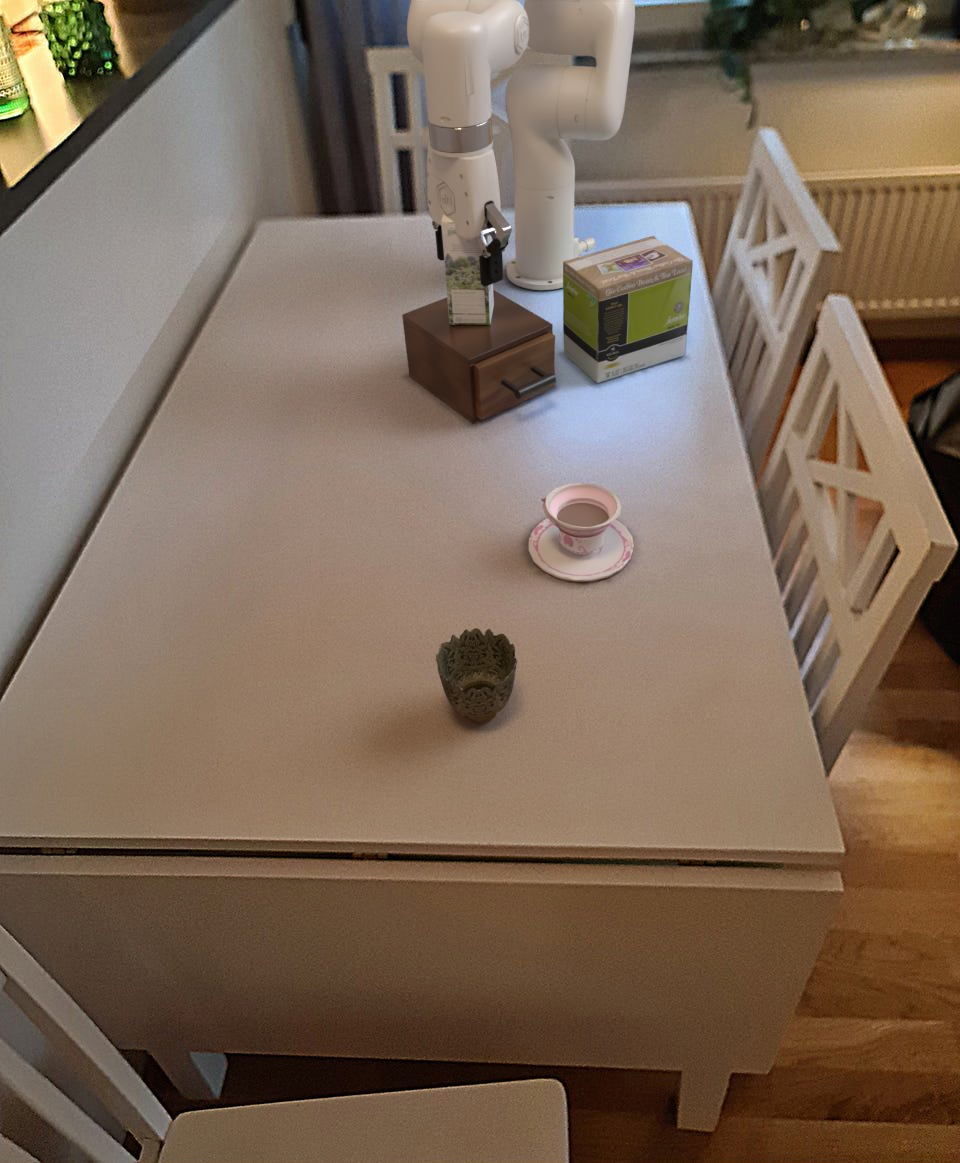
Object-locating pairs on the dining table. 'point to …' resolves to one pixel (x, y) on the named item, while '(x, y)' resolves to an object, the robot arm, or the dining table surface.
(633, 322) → the tea box
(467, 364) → the cabinet
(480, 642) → the cup
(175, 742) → the dining table surface
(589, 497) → the teacup
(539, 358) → the drawer
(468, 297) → the syrup box
